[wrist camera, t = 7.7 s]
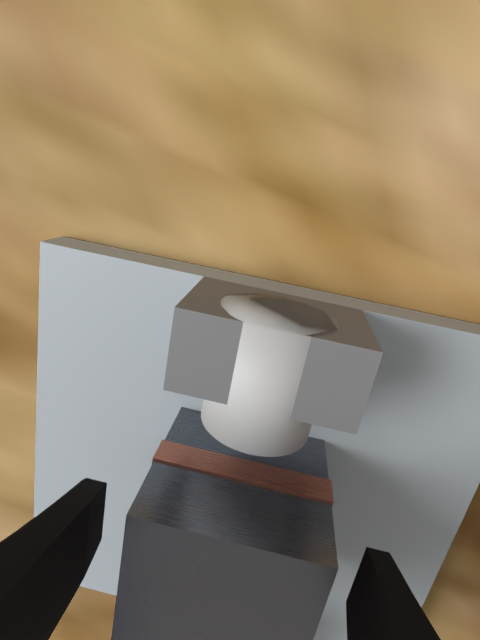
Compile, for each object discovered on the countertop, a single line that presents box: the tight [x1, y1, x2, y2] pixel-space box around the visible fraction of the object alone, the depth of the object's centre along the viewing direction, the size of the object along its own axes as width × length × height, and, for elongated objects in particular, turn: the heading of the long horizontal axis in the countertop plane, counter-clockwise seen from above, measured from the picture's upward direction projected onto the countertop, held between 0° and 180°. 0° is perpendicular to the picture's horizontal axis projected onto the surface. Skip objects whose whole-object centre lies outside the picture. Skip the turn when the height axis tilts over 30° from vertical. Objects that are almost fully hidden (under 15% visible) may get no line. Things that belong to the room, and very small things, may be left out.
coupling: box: [111, 407, 338, 640], centre depth 12 cm, size 5×5×4 cm
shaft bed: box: [34, 236, 480, 640], centre depth 13 cm, size 13×14×4 cm
